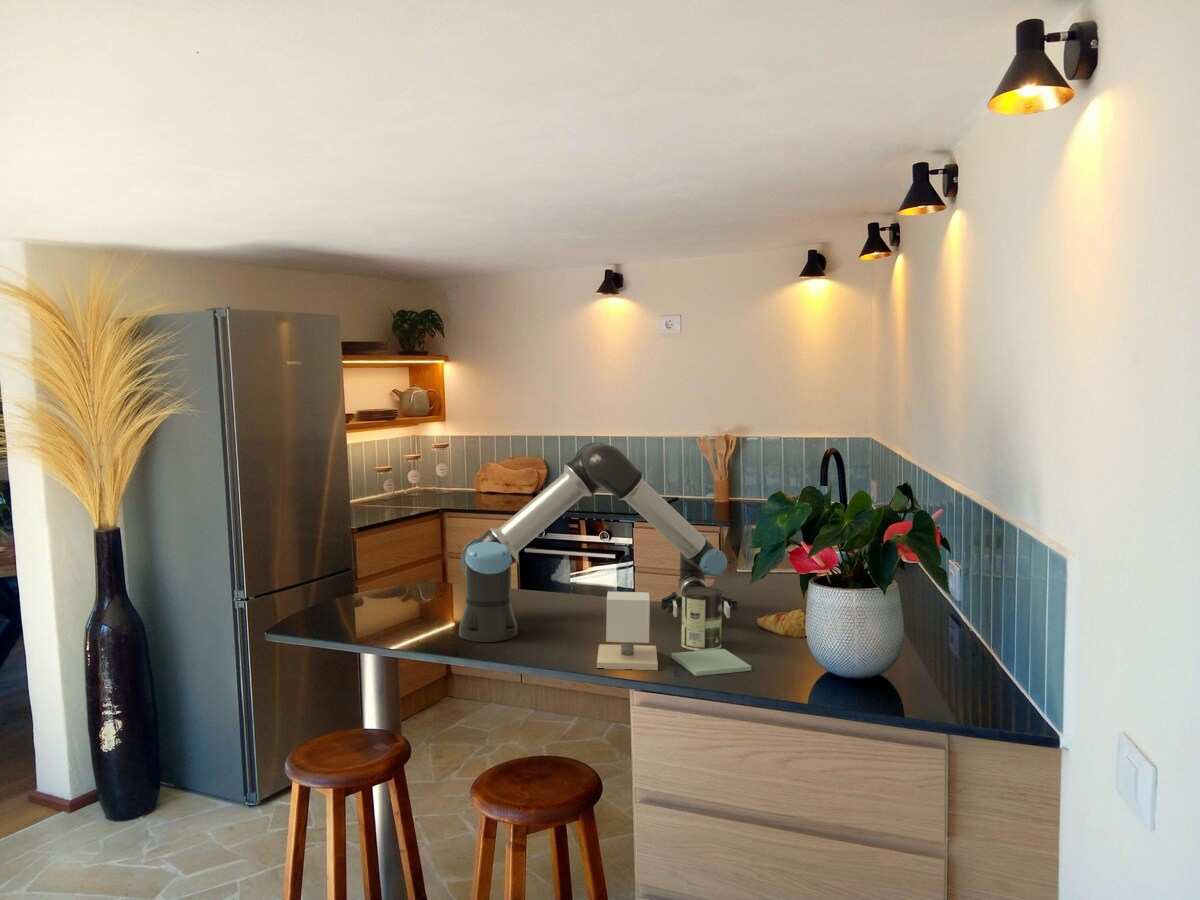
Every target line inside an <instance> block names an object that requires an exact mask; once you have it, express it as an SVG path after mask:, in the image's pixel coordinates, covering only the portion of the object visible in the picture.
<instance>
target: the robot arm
mask: <svg viewBox="0 0 1200 900" xmlns="http://www.w3.org/2000/svg"><path fill="white" fill-rule="evenodd" d="M600 489H604V490H606V491H607V492H609V493H610V494H611V495H613V496H614V497H615V498H616V499H617V500H618V501H623V500H624V501H625V502H626V503H627V504H628V505H629V506H630V507H631V508H633V509H634V511H635V512H636V513H638V514H639V515H640V516H641V517H642V518H644V520H645V521H647V523H649V524H650V525H651V526H652V527H653V528H654V529H655V530H656V531H658V533H659V534H661V535H662V537H664V539H665V540H667V541H668V542H669V543H670V544H671V545H673V547H675V549H677V550H678V552H679V578H678V588H679V590H680V595H679V593H677V592H676V591H675V592H671V594H669V595H668V596H665V597H664V598H662V599H661V609H662V610H665V609H667V612H668V613H672V614H673V617H674V618H677V617H678V609H679V608H682V589H684V588H687V587H708V586H707V584H706V576H710V577H718V576H720V575H721V574H723V573H724V571H725V570H726V569H727V566H728V559H727V557H726V555H725V553H724V552H722V551H721V550H720V549H718V548H716V547H715V546H714V545H713V544H712V543H711V542H709V541H708V540H707V536H706V533H704V532H700V531H698V530H697V529H696V528H695V527H694V526H693V525H692V524H691V523H690V522H688V520H687V519H685V518H684V517H683V516H682V515H681V514H680V513H679V512H678V511H677V510H676V509H674V507H673V506H672V505H671V504H669V503H668V501H666V500H665V498H663V496H661V495H660V494H659V493H658V492H657V491H656V490H655V489H654V488H653V487H652V486H650V484H649V483H647V482H646V481H645V480H644V474H643V473H642V472H641V471H640V470H639V469H638V468H637V467H636V466H635V465H634V464H633V463H632V461H631V460H630V459H629V458H628V457H627V456H626V455H625V453H623V452H622V451H621V450H620V449H619V448H618V447H616V446H613V445H610V444H606V443H603V442H602V441H601V442H598V441H593V442H589V443H586V444H584V445H582V446H580V448H579V449H578V450H577V451H576V452H575V453H574V457H573V458H571V459H570V460H569V461H568V462H567V463H566V464H564V468H563V472H562V474H561V475H560V476H559V477H558V478H556V479H555V480H554V481H553V482H551V483H550V484H549V485H548V486H547V487H546V488H544V489H543V490H542V491H540V492H539V493H538V494H537V495H536V496H535V497H534V498H533V499H531V500H530V501H529V502H528V503H527V504H526V505H525V506H523V507H522V508H520V510H519V511H517V513H515V514H514V515H513V516H511V517H510V518H509V519H508V520H507V521H506V522H505V523H503V524H502V525H501V526H499V528H493V527H491V528H489V529H487V531H485V532H484V533H483V534H482V535H481V536H480V537H477V538H474V539H472V540H471V541H469V542H468V543H467V544H466V545H465V546H464V548H463V549H462V551H461V556H460V568H461V571H462V573H463V574H464V576H465V608H464V611H463V614H462V617H461V620H460V623H459V626H458V627H459V628H458V635H459V637H460V638H461V639H463V640H466V641H469V642H476V643H495V642H502V641H507V640H511V639H513V638H515V637H516V636H517V635H518V624H517V620H516V617H515V614H514V611H513V607H512V603H511V600H512V597H511V596H512V594H511V593H512V588H511V587H512V582H511V581H512V574H511V573H512V565H514V563H516V562H517V561H518V558H519V552H520V551H521V550H522V549H524V547H526V546H527V545H528V544H529V543H530V542H532V541H533V540H534V539H535V538H536V537H537V536H539V535H540V534H541V533H542V532H543V531H545V530H546V529H547V528H548V527H549V526H550V525H552V524H553V523H554V522H555V521H556V520H557V519H559V518H560V517H561V516H562V515H563V514H565V513H566V511H568V510H569V509H570V508H571V507H573V506H574V505H575V504H576V503H577V502H578V501H579V500H581V499H582V498H583V497H592V496H593V495H594V494H596V493H597V492H598V491H599V490H600ZM722 611H723V613H724V615H725V616H726V619H730V617H731V613H733V611H734V612H735V611H738V601H737V600H736V599H734V598H732V597H731V598H730V597H729V596H726V595H723V594H722Z"/></svg>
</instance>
